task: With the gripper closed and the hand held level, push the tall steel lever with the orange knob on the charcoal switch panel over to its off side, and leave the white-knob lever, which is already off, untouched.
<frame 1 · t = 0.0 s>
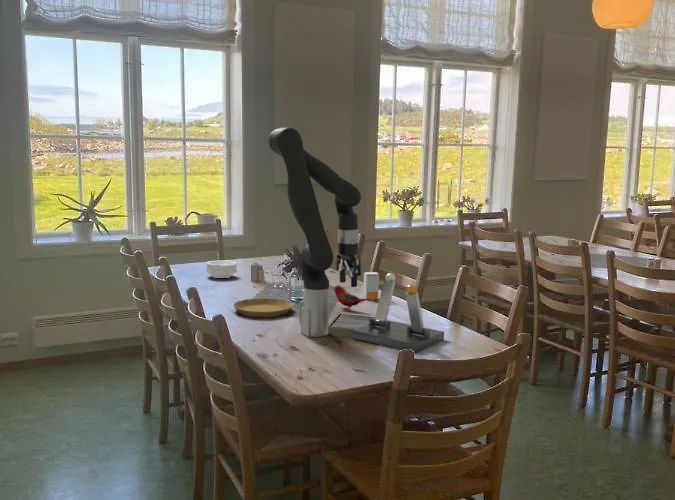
hand: (348, 284, 238), 17 cm above the table, tool pointing down, fingers open, 8 cm apart
white lever: (385, 299, 236), point 13 cm above the table, hinge at 22.0°
skincare box: (370, 299, 292), on the table
orange lever: (414, 309, 221), point 13 cm above the table, hinge at -22.0°
plant saucer: (263, 312, 265), on the table
decorative bird figurine: (350, 310, 270), on the table
white footed bowl: (221, 277, 332), on the table
switch panel: (398, 339, 230), on the table
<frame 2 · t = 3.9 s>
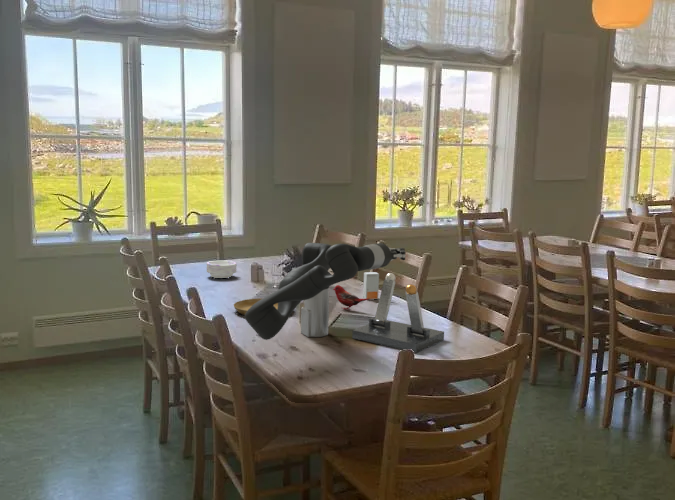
hand: (402, 251, 210), 34 cm above the table, tool horizontal, fingers closed
nothing on the table moved.
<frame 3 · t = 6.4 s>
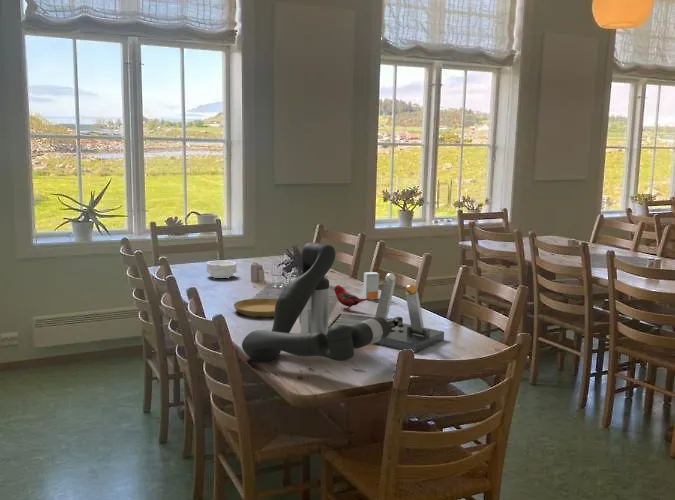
hand: (400, 320, 214), 11 cm above the table, tool horizontal, fingers closed
nothing on the table moved.
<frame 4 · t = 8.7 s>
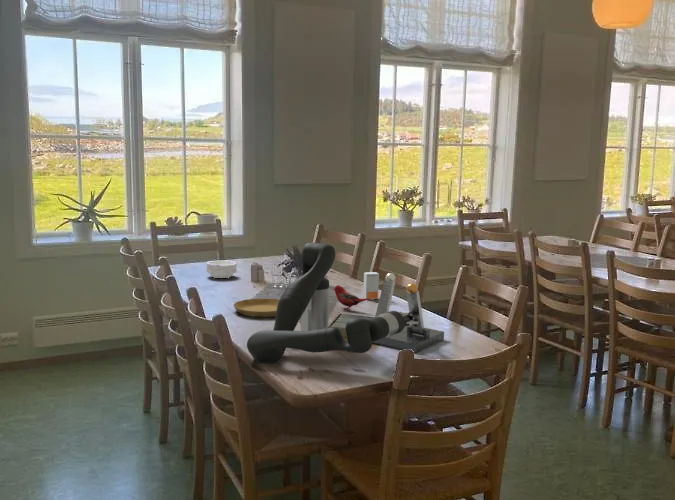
hand: (414, 314, 221), 11 cm above the table, tool horizontal, fingers closed
orange lever: (415, 309, 221), point 13 cm above the table, hinge at -19.6°, touching gripper
everything else where it was.
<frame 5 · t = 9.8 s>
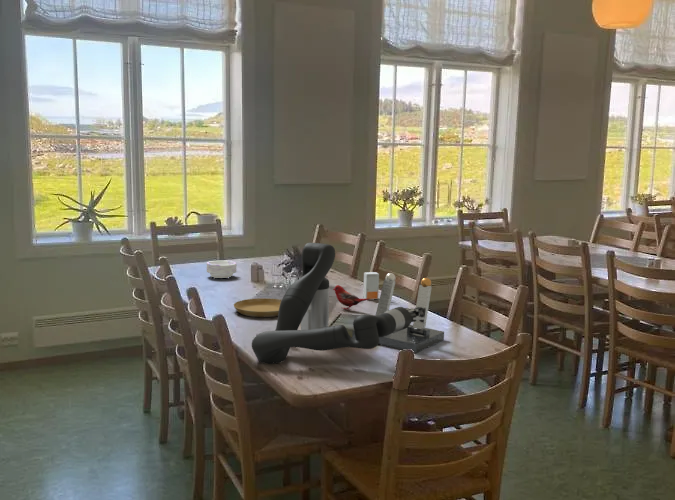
hand: (420, 310, 224), 12 cm above the table, tool horizontal, fingers closed
orange lever: (422, 306, 225), point 13 cm above the table, hinge at 13.9°, touching gripper
everything else where it was.
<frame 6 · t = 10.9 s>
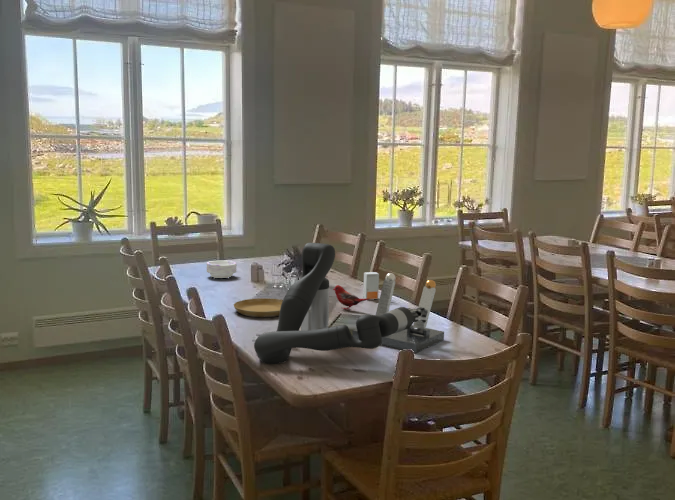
hand: (422, 310, 225), 11 cm above the table, tool horizontal, fingers closed
orange lever: (424, 306, 227), point 12 cm above the table, hinge at 26.5°, touching gripper
everything else where it was.
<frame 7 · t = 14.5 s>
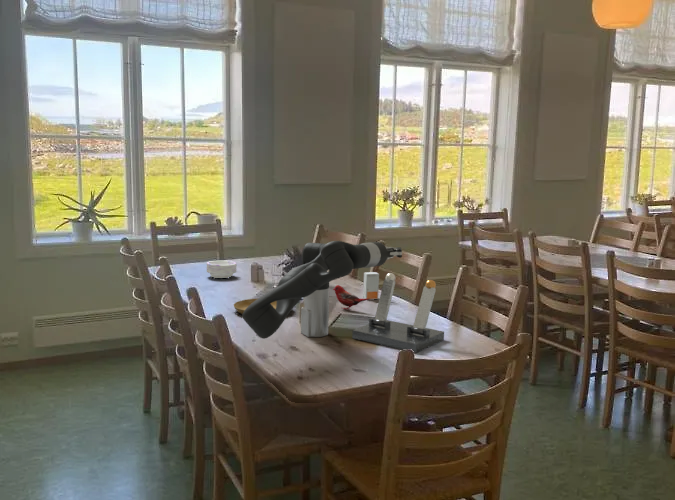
hand: (399, 250, 210), 34 cm above the table, tool horizontal, fingers closed
orange lever: (424, 306, 227), point 12 cm above the table, hinge at 26.5°
everything else where it was.
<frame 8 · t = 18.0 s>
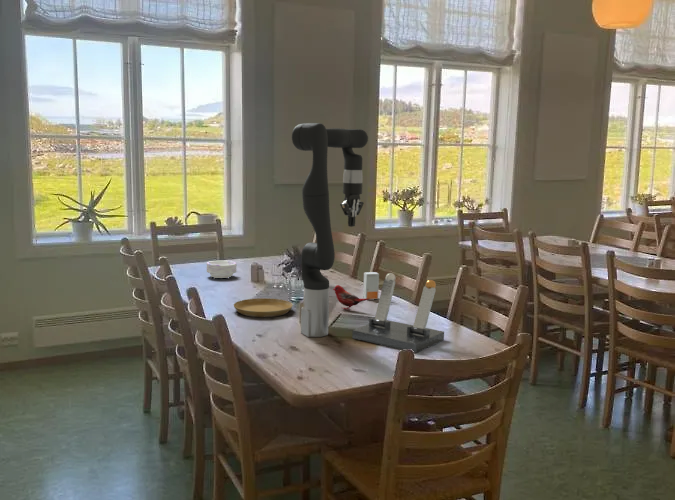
hand: (351, 226, 251), 37 cm above the table, tool pointing down, fingers closed
nothing on the table moved.
at the end: orange lever at +26° (first picture: -22°); white lever at +22° (first picture: +22°) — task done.
